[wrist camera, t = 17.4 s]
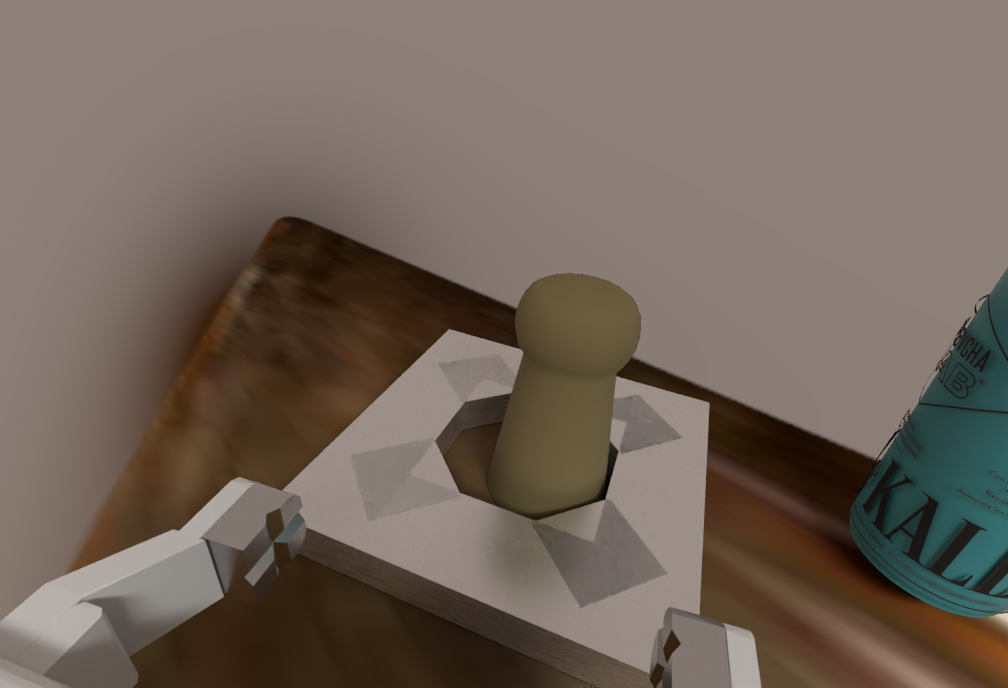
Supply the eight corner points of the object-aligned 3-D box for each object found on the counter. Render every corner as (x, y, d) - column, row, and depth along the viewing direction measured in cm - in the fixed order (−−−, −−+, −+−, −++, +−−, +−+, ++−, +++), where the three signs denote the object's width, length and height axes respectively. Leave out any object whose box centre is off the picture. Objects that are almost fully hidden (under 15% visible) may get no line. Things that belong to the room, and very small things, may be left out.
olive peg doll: (478, 445, 28) (497, 256, 22) (582, 438, 29) (625, 258, 24) (498, 537, 23) (529, 323, 17) (623, 524, 24) (689, 322, 19)
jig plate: (699, 428, 31) (709, 402, 30) (678, 723, 17) (695, 692, 16) (447, 354, 36) (449, 329, 35) (269, 541, 22) (263, 508, 21)
